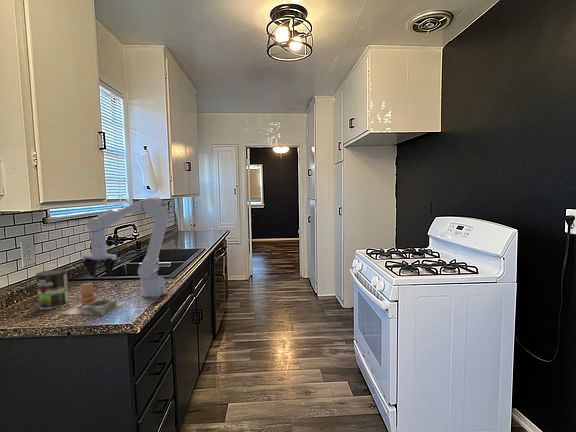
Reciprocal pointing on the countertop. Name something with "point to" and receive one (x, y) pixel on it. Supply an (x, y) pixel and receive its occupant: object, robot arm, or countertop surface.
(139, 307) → the countertop surface
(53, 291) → the coffee can
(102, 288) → the countertop surface
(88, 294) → the end cover
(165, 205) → the robot arm
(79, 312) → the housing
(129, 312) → the countertop surface
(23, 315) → the countertop surface
